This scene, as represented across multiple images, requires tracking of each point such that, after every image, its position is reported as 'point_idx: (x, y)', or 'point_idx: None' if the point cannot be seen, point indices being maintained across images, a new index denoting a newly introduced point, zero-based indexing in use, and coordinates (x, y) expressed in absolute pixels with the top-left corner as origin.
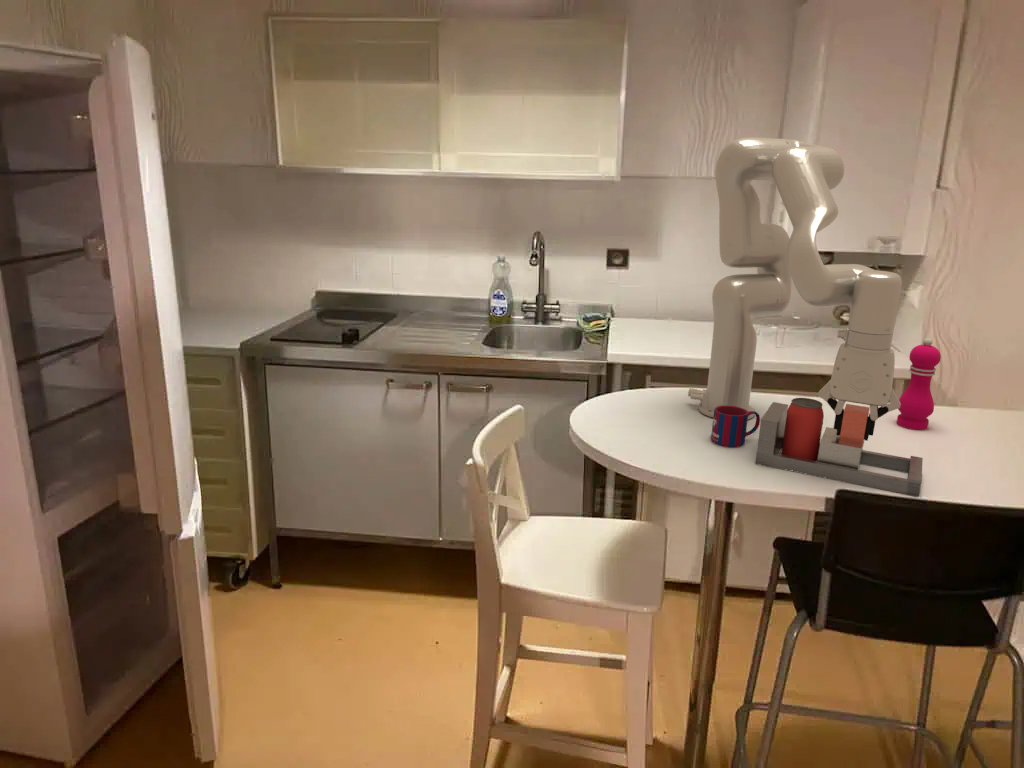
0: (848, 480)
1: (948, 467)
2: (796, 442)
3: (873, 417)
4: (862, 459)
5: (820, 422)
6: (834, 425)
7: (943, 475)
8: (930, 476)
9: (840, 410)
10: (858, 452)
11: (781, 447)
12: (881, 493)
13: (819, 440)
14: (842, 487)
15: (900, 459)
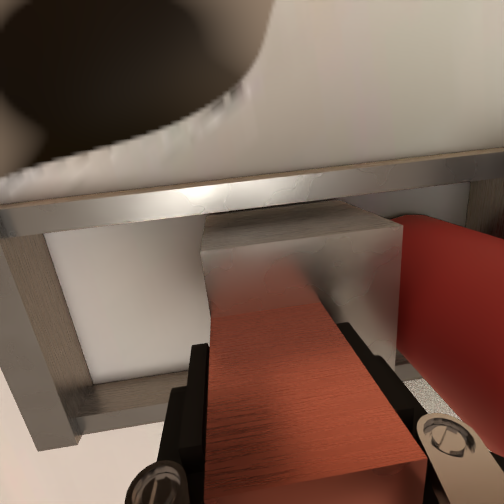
0: (225, 179)
1: (17, 488)
2: (476, 234)
3: (163, 491)
4: None
5: (468, 344)
6: (385, 364)
7: (3, 428)
8: None
9: (439, 451)
10: (212, 242)
11: None
12: (101, 151)
13: None
14: (231, 116)
15: (107, 411)
